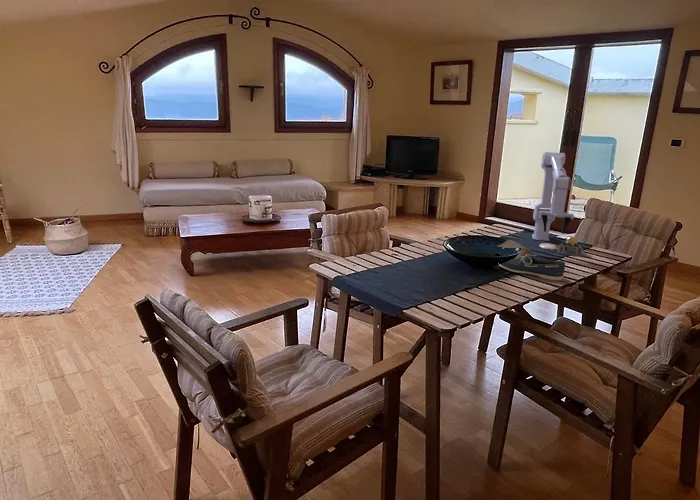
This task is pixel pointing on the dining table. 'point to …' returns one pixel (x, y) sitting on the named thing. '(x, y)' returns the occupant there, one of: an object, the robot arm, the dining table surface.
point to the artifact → (514, 245)
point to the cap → (571, 241)
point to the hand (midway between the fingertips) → (553, 232)
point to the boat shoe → (536, 267)
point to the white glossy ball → (548, 246)
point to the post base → (570, 250)
